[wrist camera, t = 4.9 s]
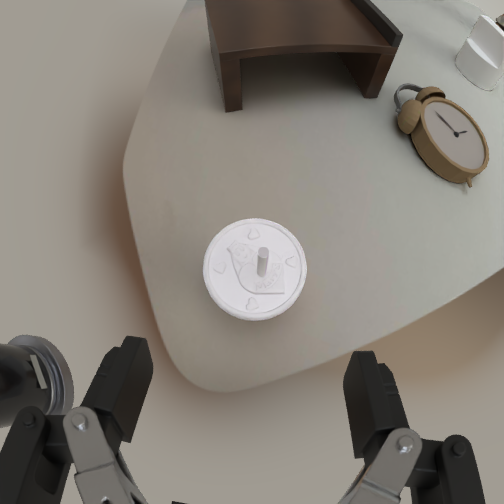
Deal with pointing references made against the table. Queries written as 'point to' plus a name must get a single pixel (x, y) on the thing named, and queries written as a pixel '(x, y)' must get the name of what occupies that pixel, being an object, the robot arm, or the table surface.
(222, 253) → the smoothie
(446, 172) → the alarm clock
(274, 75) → the table surface
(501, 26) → the plaid figurine
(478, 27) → the cylinder with rectangular tab
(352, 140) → the table surface
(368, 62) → the shelf
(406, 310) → the table surface
